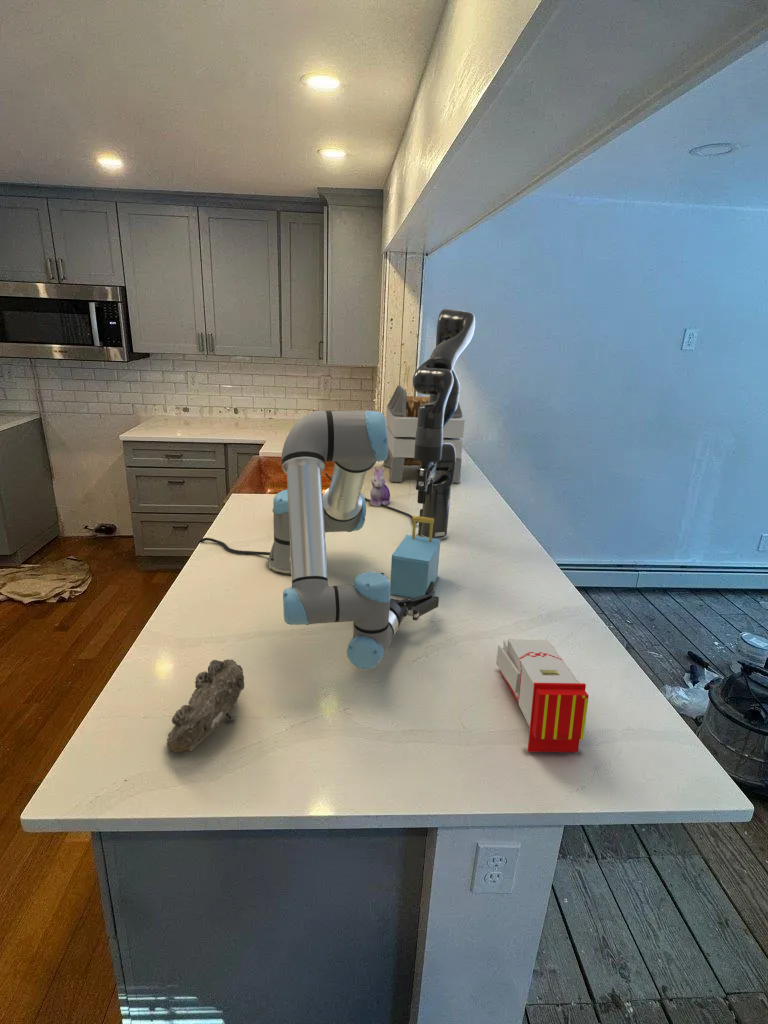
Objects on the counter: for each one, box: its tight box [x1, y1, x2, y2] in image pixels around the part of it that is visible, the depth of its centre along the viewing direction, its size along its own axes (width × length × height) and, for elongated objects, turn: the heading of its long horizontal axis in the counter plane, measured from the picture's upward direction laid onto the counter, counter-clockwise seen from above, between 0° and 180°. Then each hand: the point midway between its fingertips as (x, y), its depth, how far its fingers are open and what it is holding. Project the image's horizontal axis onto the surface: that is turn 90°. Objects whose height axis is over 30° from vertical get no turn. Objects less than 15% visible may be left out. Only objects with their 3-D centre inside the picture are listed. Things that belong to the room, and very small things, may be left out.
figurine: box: [369, 465, 391, 507], centre depth 228 cm, size 9×10×15 cm
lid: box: [391, 515, 442, 565], centre depth 159 cm, size 16×10×8 cm, turn 163°
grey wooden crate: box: [383, 384, 465, 484], centre depth 268 cm, size 34×33×41 cm
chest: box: [389, 544, 441, 599], centre depth 162 cm, size 16×10×11 cm
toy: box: [495, 638, 589, 753], centre depth 114 cm, size 12×13×30 cm
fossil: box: [166, 658, 245, 754], centre depth 106 cm, size 22×10×15 cm
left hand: (407, 581), depth 150 cm, fingers open, 13 cm apart
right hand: (424, 498), depth 160 cm, fingers open, 8 cm apart
